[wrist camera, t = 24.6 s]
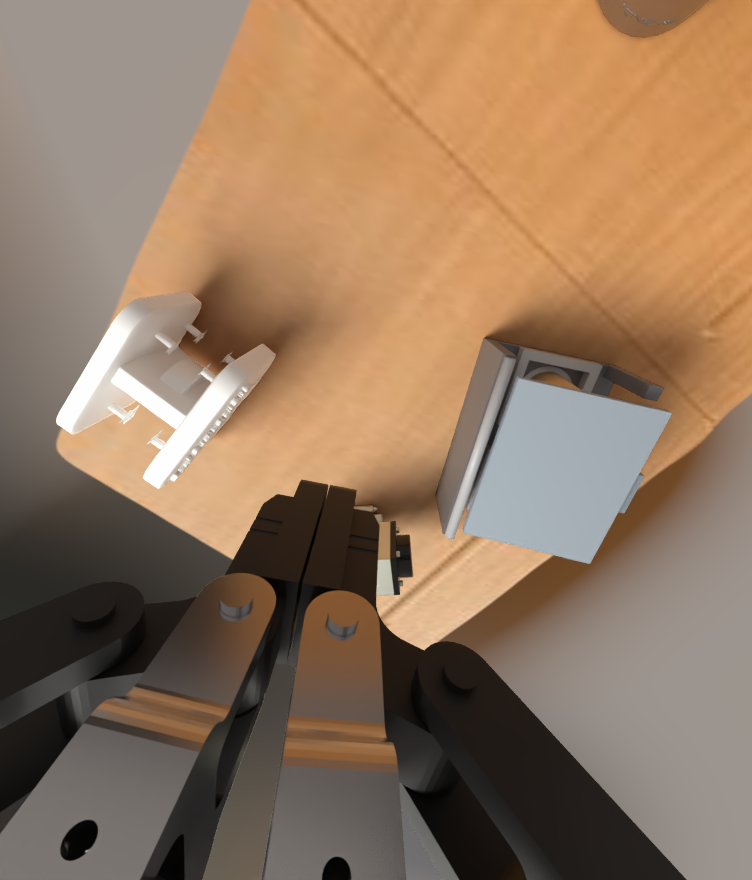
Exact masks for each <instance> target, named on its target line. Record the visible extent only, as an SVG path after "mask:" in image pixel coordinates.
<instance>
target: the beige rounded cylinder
mask: <svg viewBox="0 0 752 880" xmlns="http://www.w3.org/2000/svg"><path fill="white" fill-rule="evenodd" d="M530 379H532V380H537V381H541V382H546V383H550V384H554V385H559V386H563V387H567V388H572V389H576V390H580V389H579V388H577V387H576V386H575V385H573V384H572V383H570V382H569V381H568V380H566V379H565V378H564V377H562V376H561V375H559V374H557V373H555V372H541V373H538V374H536V375H534V376H533V377H531V378H530ZM581 391H582V390H581Z"/></svg>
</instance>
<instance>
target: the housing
mask: <svg viewBox="0 0 752 880" xmlns="http://www.w3.org/2000/svg"><path fill="white" fill-rule="evenodd" d="M541 372H555V373H557V374H559V375H561V376H562V377H564V378H565V379H566V380H568V381H569V382H570V383H572V384H573V385H575V386H576V387H577V388H579V389H580V390H582V391H585V392H589V393H594V394H598V395H603V396H608V394H609V392H610V390H611V388H612V386H613V384H614V383H616V384H618V385H620V386H622V387H623V388H625V389H627V390H629V391H631V392H633V393H635V394H636V395H638V396H640V397H642V398H644V399H649V400H654V401H657V400H658V398H659V396H660V395H661V393H662V391H663V389H664V388H663V387H661V386H659V385H656V384H654V383H652V382H650V381H648V380H646V379H643V378H641V377H639V376H637V375H635V374H632V373H630V372H628V371H626V370H624V369H622V368H619V367H617V366H614V365H610V364H605V363H600V362H596V361H591V360H586V359H581V358H577V357H572V356H567V355H563V354H558V353H553V352H548V351H544V350H539V349H534V348H530V347H525V346H520V345H515V344H511V343H506V342H501V341H497V340H492V339H487V338H484V339H483V342H482V345H481V348H480V352H479V355H478V358H477V361H476V365H475V368H474V371H473V374H472V378H471V381H470V384H469V387H468V391H467V394H466V397H465V400H464V404H463V407H462V410H461V413H460V417H459V420H458V423H457V426H456V430H455V433H454V436H453V439H452V443H451V446H450V449H449V452H448V456H447V459H446V462H445V465H444V469H443V472H442V475H441V478H440V482H439V485H438V488H437V491H436V500H437V505H438V511H439V516H440V521H441V527H442V532H443V534H445V536H446V537H447V538H448V539H454V537H455V534H456V531H457V528H458V525H459V523H460V520H461V517H462V514H463V511H464V508H465V506H466V510H468V511H469V509H470V506H471V503H472V501H473V498H474V495H475V492H476V489H477V487H478V484H479V481H480V478H481V475H482V473H483V470H484V467H485V464H486V461H487V459H488V456H489V453H490V450H491V447H492V445H493V442H494V439H495V436H496V433H497V431H498V428H499V425H500V422H501V419H502V417H503V414H504V411H505V408H506V405H507V403H508V400H509V397H510V394H511V391H512V389H513V386H514V383H515V380H516V377H517V376H519V377H524V378H528V379H530V378H531V377H533V376H534V375H536V374H538V373H541ZM562 558H564V557H562ZM564 559H568V558H564ZM570 560H572V559H570Z"/></svg>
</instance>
